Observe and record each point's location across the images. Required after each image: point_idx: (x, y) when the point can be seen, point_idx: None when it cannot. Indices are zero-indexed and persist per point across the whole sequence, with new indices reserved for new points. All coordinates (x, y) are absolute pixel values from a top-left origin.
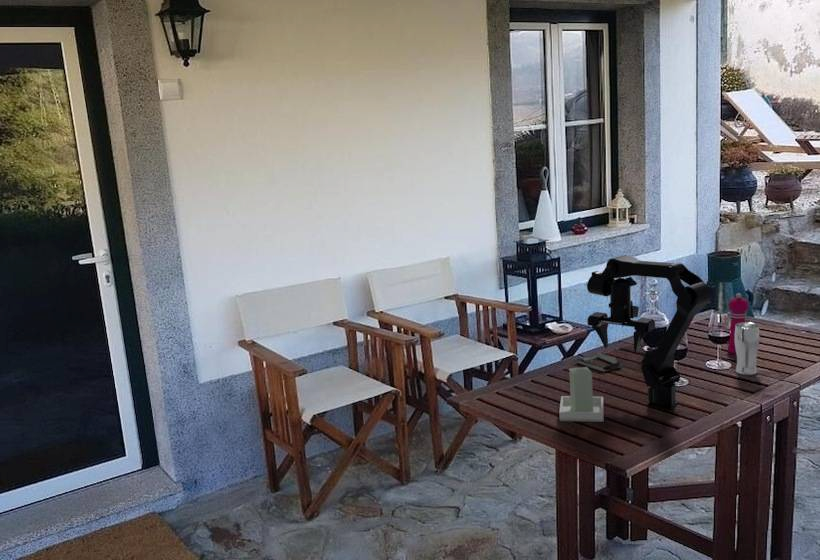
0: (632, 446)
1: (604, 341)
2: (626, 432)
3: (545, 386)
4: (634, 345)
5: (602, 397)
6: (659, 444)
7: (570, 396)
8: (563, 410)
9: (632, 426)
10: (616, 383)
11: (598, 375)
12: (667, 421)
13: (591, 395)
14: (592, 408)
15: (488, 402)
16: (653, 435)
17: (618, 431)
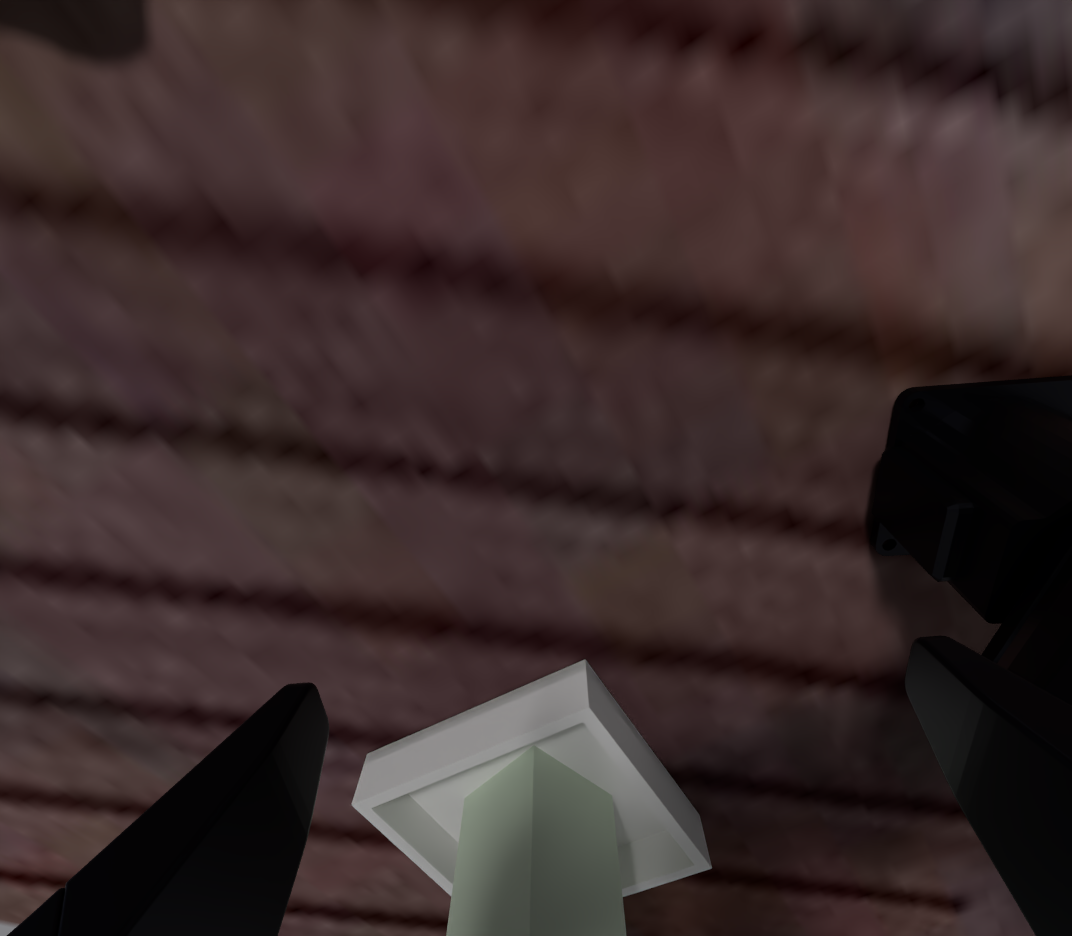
0: (924, 923)
1: (280, 920)
2: (855, 849)
3: (44, 588)
4: (1031, 901)
5: (592, 718)
6: None
7: (456, 879)
8: (448, 828)
9: (863, 794)
10: (426, 235)
11: (133, 117)
12: None
13: (618, 923)
14: (612, 826)
15: (49, 877)
16: None
17: (814, 855)
